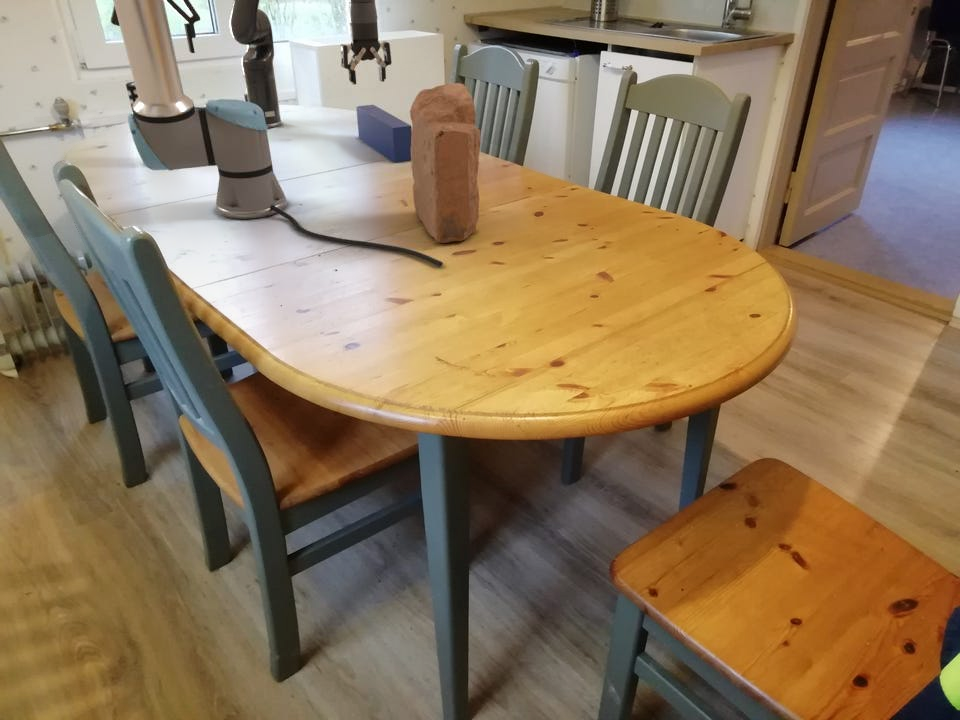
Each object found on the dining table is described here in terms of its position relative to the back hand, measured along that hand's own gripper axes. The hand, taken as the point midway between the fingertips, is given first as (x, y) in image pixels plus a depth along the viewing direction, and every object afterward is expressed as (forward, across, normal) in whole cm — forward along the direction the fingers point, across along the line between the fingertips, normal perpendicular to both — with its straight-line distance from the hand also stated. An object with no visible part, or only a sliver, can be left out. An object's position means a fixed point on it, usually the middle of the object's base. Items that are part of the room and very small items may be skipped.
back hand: (368, 82), depth 198 cm
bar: (+16, 0, +10) cm, 19 cm away
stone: (+16, +10, +71) cm, 73 cm away
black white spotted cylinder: (+6, +58, -5) cm, 59 cm away
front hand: (-10, +52, -3) cm, 54 cm away
